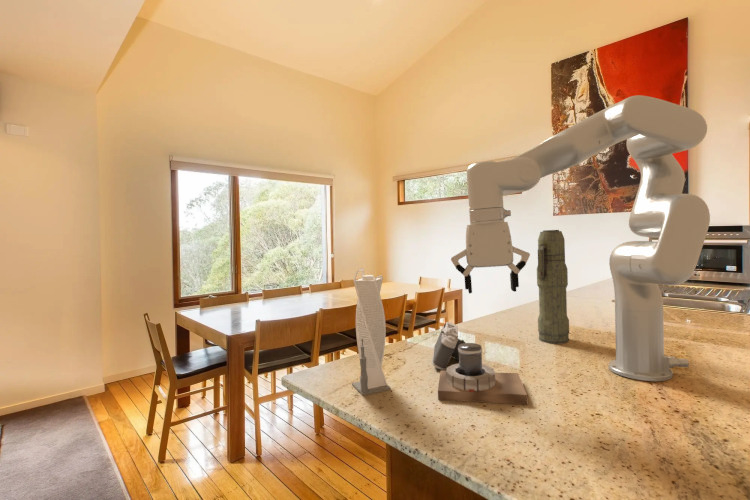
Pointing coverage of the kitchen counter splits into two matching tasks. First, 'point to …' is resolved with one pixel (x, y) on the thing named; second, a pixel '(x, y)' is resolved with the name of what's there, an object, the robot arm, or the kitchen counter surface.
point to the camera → (446, 346)
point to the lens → (470, 359)
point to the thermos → (552, 288)
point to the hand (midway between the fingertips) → (491, 291)
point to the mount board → (492, 395)
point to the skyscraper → (370, 334)
